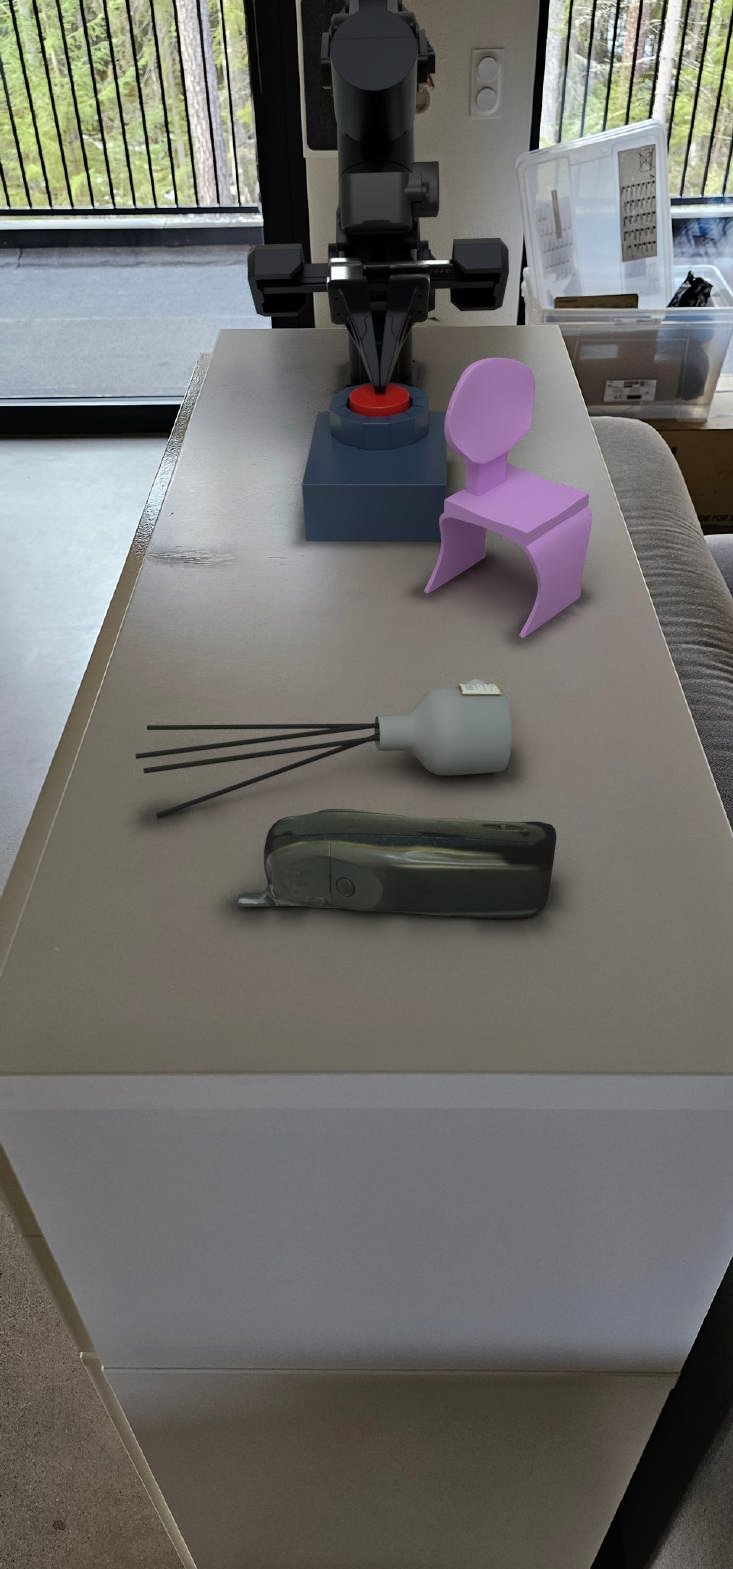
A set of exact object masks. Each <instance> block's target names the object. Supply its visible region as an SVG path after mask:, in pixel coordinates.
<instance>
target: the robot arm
mask: <svg viewBox="0 0 733 1569" xmlns="http://www.w3.org/2000/svg"><path fill="white" fill-rule="evenodd" d="M320 74H321V86H322V88H323V89H324V90H331V97H333V105H334V107H333V108H334V115H335V121H336V124H337V187H338V188H337V189H338V190H337V193H338V194H337V196H338V201H337V202H338V204H337V207H336V211H335V242H328V243H327V262H316V263H315V262H314V263H306V262H305V256H304V255H305V254H304V250H303V243H276V244H275V243H274V244H255V245H254V246H253V247H252V249H251V250H250V251H249V253H248V254H247V257H246V259H247V260H246V261H247V266H246V267H247V282H248V286H249V290H250V295H251V298H252V302H253V306H254V309H255V314H256V315H258V316H261V317H264V318H271V317H273V318H274V317H299V316H300V315H301V313H302V312H303V311H304V310H305V309H307V307H308V306H309V294H310V293H313V294H314V293H327V298H328V299H327V300H328V307H329V314H330V322H331V323H332V324H334V325H339V326H344V327H345V328H346V330H347V337H348V360H347V363H346V368H345V374H344V379H343V385H342V390H344V389H345V388H348V387H352V386H357V385H361V384H365V383H370V382H371V384H372V387H373V390H374V392H375V393H386V390H387V387H388V384H389V382H394V383H399V384H403V385H408V386H412V387H416V388H417V380H418V367H419V366H418V364H419V363H418V360H417V359H414V358H413V326H414V325H415V324H416V323H420V324H421V323H423V322H425V321H427V320H428V318H429V313H431V312H433V311H434V310H436V290H447V289H448V290H449V302H450V303H451V304H452V305H453V306H454V307H455V308H456V309H457V310H459V312H485V311H488V312H489V311H490V312H491V311H496V310H498V309H501V308H503V306H504V305H503V304H504V299H505V295H506V289H507V284H508V280H509V274H510V254H509V253H510V252H509V251H510V250H509V247H508V245H507V244H506V243H505V242H504V240H502V238H501V237H480V238H479V237H477V238H475V237H474V238H453V240H452V248H451V249H452V250H451V258H450V259H437V258H436V257H435V256H434V255H433V253H432V249H431V248H430V244H429V239H421V225H420V219H422V218H437V217H438V216H439V212H440V161H438V160H435V161H434V160H432V161H429V160H428V161H416V155H415V154H416V153H415V151H416V150H415V149H416V148H415V145H416V144H415V118H416V111H417V94H420V86H421V87H422V86H426V85H427V84H428V78H429V77H428V76H429V75H434V74H436V51H435V49H434V46H432V45H431V43H430V40H428V36H427V33H426V28H421V27H420V24H419V22H418V21H417V16H416V13H415V12H414V11H413V10H408V9H407V7H405V5H404V4H403V0H344V6H343V8H342V9H341V11H340V12H339V13H333V15H331V18H330V26H329V27H328V32H322V34H321V47H320Z"/></svg>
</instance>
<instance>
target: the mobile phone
mask: <svg viewBox="0 0 733 1569" xmlns="http://www.w3.org/2000/svg"><path fill="white" fill-rule="evenodd" d="M556 846H557V830H556V828H555V827H554V826H553V824H550V823H547V822H542V821H536V820H535V821H534V820H533V821H503V820H502V821H501V820H478V819H471V818H454V817H452V818H450V817H449V818H448V817H420V816H419V817H417V816H407V815H400V814H393V813H384V812H375V811H368V810H363V809H351V808H327V809H325V808H324V809H321V810H318V811H315V812H311V813H306V814H299V815H290V816H286V817H283V818H280V819H278V820H277V821H275V822H274V823H273V824H272V825H271V826H270V828H269V829H268V832H267V835H266V837H265V842H264V847H263V868H264V869H263V870H264V873H265V878H266V881H267V886H266V889H264V890H263V891H261V892H243V893H240V894H238V897H237V901H238V906H239V907H309V908H314V909H315V908H316V909H317V908H318V909H343V910H348V911H349V910H350V911H356V912H357V911H358V912H380V913H381V912H382V913H383V912H385V913H386V912H387V913H409V914H420V915H429V916H443V917H461V918H462V917H463V918H479V919H480V918H481V919H501V920H502V919H504V920H512V919H520V918H521V919H522V918H528V917H532V916H533V915H536V914H537V913H539V912H541V911H542V910H543V909H544V908H545V906H546V905H547V904H548V901H549V895H550V888H551V882H552V876H553V875H552V874H553V868H554V862H555V854H556V848H557V847H556Z"/></svg>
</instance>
